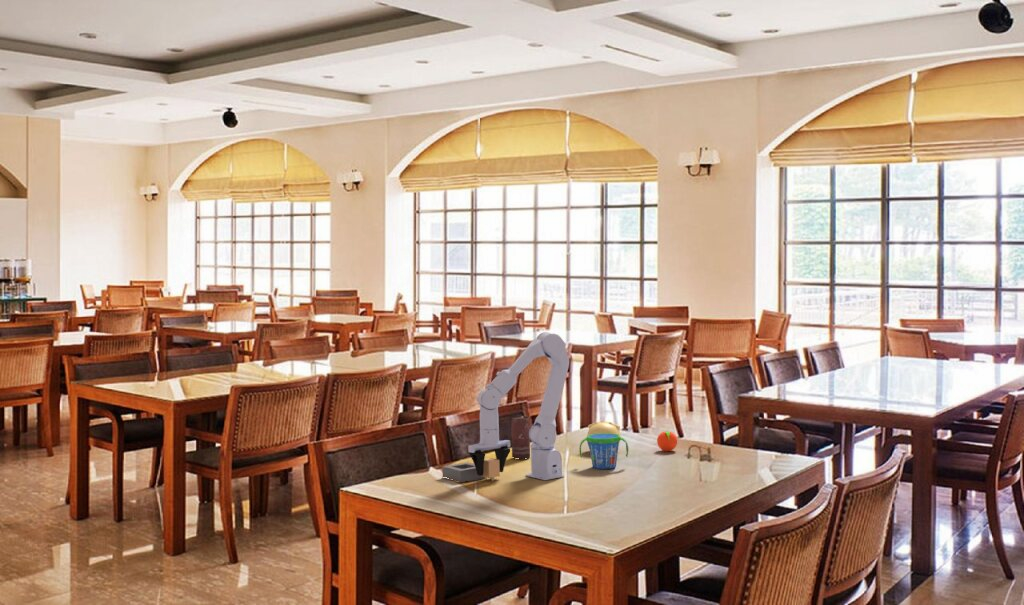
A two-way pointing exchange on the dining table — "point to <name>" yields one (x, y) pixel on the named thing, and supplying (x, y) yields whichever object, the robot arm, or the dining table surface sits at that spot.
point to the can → (520, 437)
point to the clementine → (667, 441)
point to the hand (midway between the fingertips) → (490, 473)
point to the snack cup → (604, 449)
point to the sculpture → (603, 428)
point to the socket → (461, 472)
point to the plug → (491, 468)
